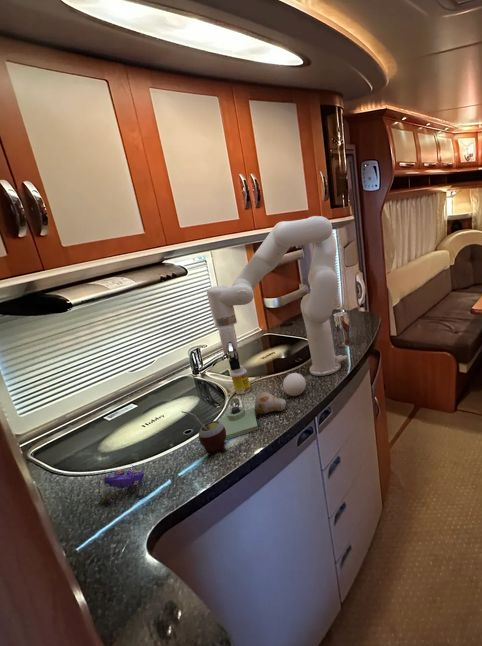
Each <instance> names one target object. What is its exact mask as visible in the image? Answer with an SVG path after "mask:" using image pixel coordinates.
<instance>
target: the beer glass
mask: <svg viewBox="0 0 482 646" xmlns="http://www.w3.org/2000/svg"><path fill="white" fill-rule="evenodd" d="M332 314H333V315H332V317H333V319H332V320H333V325H334V326H333V327H334V330H335V332H336V336H337V339H338V347H340V348H347V347H350V346H351V345H352V340H351V336H350V329H351V327H350V325H351V324H350V319H349V314H348V312H347V311H338V312H335V313H332Z"/></svg>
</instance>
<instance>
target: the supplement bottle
mask: <svg viewBox="0 0 482 646" xmlns="http://www.w3.org/2000/svg"><path fill="white" fill-rule="evenodd" d="M239 364H240V369H237V370H231V373H230V376H231V380H232V384H233V387H234V392H235V393H236V395H244V394H247V393H248V392H250V390H252V389H251V384H250V380H249V375H248V371H247V369H246V368H245V367H244V365H243V364H241V363H239Z"/></svg>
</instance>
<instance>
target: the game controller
mask: <svg viewBox="0 0 482 646" xmlns="http://www.w3.org/2000/svg"><path fill="white" fill-rule="evenodd" d="M116 464H118V462H116V463H113V464H112V466H113V465H116ZM126 464H128V465H130V466H132V467H133V468H134V469H129V470H126V474H125V470H123V469H119V470H116V471H114V472H112V473H108V474H106V475H105V476H104V478H103V484H104V487H106V488H110V487H111V488H117V489H125V491H126V492H127V493H129V494H130V495H132V496H135V497H137V498H142V496H141V495H139V494H137V493H135V492H133V491H131V490H129V489H127V488H128V487H130V486H133V485H134V486H137V485H139V484H140V483H141V482H142V481H143V479H144V477H145V473H144V472H143V471H138V468H135V466H134V465H133V464H131V463H130V462H129V463H128V462H126ZM110 467H111V465H109V466H108V467H106V468H105V469H104V471H107V469H108V468H110ZM103 475H104V472H102V473H101V475H100V478H99V481H101V479H102V477H103ZM100 485H101V482H99V483H98V490H99V491H98V494H99V498H100V501H101V502H102V504H104V505H109V504H112V503H113V502H114V500H115V499H114V498H111V499H110V500H109V501H108V502H107V503H105V502H104V501H103V500H102V496H101V489H100Z"/></svg>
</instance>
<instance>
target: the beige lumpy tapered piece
mask: <svg viewBox="0 0 482 646" xmlns="http://www.w3.org/2000/svg"><path fill="white" fill-rule="evenodd" d="M286 405H287V402H286V400H285V399H284V398H279V397H277V396H275V395H272V394H271V393H269V392H267V391H259V392H258V393H257V395H256V398H255V404H254V411H255V414H260V415H264V414H269V413H272V412H283V411H284V410H285V409H286Z"/></svg>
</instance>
